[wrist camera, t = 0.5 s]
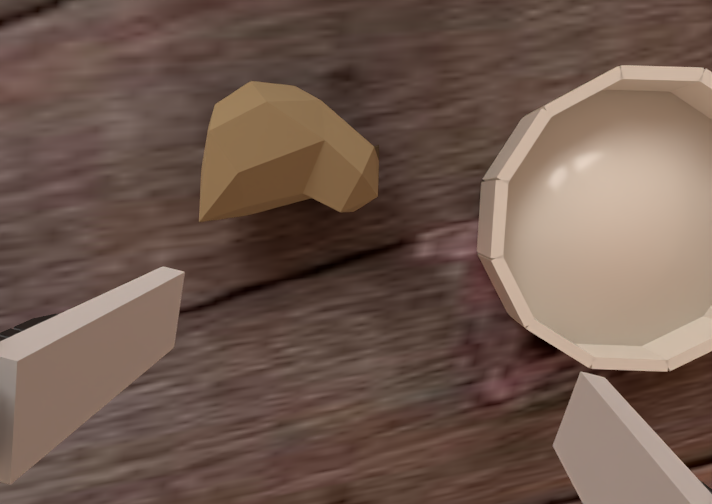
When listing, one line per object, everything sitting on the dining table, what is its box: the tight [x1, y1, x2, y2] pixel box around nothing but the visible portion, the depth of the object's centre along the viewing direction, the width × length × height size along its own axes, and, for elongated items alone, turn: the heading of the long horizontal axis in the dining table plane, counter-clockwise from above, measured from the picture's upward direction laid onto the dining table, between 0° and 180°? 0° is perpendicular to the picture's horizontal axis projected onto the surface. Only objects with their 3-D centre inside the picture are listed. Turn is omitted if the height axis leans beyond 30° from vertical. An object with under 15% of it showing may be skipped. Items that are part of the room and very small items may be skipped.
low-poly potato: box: [199, 81, 379, 222], centre depth 35 cm, size 15×11×12 cm
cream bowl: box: [477, 65, 712, 372], centre depth 38 cm, size 24×24×4 cm
